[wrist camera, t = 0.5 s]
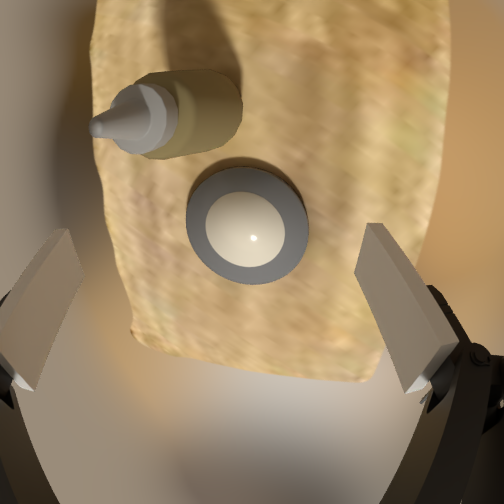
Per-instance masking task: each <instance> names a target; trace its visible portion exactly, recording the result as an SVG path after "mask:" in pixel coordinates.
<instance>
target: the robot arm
mask: <svg viewBox="0 0 504 504" xmlns="http://www.w3.org/2000/svg"><path fill="white" fill-rule="evenodd" d="M354 274H355V276H356V278H357V280H358V282H359V284H360V286H361V289H362V291H363V293H364V295H365V297H366V300H367V302H368V304H369V306H370V309H371V311H372V313H373V315H374V318H375V320H376V322H377V325H378V327H379V329H380V332H381V334H382V337H383V339H384V341H385V344H386V346H387V349H388V351H389V354H390V355H391V359H392V361H393V364H394V366H395V369H396V372H397V374H398V377H399V379H400V382H401V385H402V388H403V390H404V393H405V394H406V393H410V392H414V391H417V390H421V389H423V387H424V386H425V385H426V384H427V383H428V382H429V380H430V382H431V385H432V388H431V390H430V391H429V392H428V393H427V394H426V395H425V396H424V397H423V398H422V400H421V401H420V404H422V403H423V402H424V401H425V400H426V399H427V400H426V402H425V405H424V408H423V411H422V414H421V416H420V419H419V422H418V424H417V427H416V429H415V432H414V434H413V437H412V439H411V442H410V444H409V446H408V448H407V451H406V453H405V455H404V457H403V459H402V461H401V464H400V466H399V468H398V470H397V472H396V474H395V476H394V478H393V480H392V481H391V483H390V485H389V487H388V489H387V491H386V493H385V494H384V496H383V498H382V500H381V501H380V503H379V504H460V503H461V504H504V406H503V407H502V408H501V406H500V401H502V400H504V356H499V355H491V354H490V353H489V351H488V350H487V349H486V348H485V347H484V346H482V345H480V344H477V343H471V341H470V339H469V338H468V336H467V334H466V332H465V331H464V329H463V328H462V326H461V324H460V322H459V321H458V319H457V317H456V316H455V314H454V313H453V311H452V309H451V308H450V306H448V303H447V301H446V300H445V298H444V297H443V295H442V293H440V292H439V291H438V290H437V289H436V288H435V287H434V286H432V285H425V283H424V282H423V280H422V279H421V277H420V276H419V274H418V272H417V271H416V269H415V268H414V266H413V265H412V264H411V262H410V261H409V259H408V258H407V256H406V255H405V253H404V252H403V251H402V249H401V248H400V246H399V245H398V244H397V242H396V241H395V240H394V238H393V237H392V235H391V234H390V233H389V231H388V230H387V229H386V227H385V226H384V225H383V223H367V225H366V230H365V234H364V238H363V242H362V246H361V249H360V253H359V257H358V261H357V264H356V268H355V271H354ZM84 277H85V275H84V273H83V271H82V268H81V265H80V262H79V259H78V256H77V254H76V251H75V248H74V245H73V242H72V239H71V236H70V233H69V229H55V230H54V232H53V233H52V234H51V236H50V237H49V238H48V239H47V240H46V242H45V243H44V244H43V246H42V247H41V248H40V250H39V251H38V252H37V254H36V255H35V256H34V258H33V259H32V261H31V262H30V263H29V265H28V266H27V267H26V269H25V270H24V272H23V273H22V275H21V276H20V278H19V279H18V281H17V282H16V283H15V285H14V287H13V288H12V290H10V291H9V292H8V294H6V295H5V296H4V297H3V298H2V300H1V301H0V504H60V503H59V501H58V500H57V498H56V496H55V494H54V492H53V490H52V488H51V486H50V484H49V482H48V480H47V478H46V476H45V474H44V471H43V469H42V467H41V465H40V462H39V460H38V458H37V455H36V453H35V450H34V448H33V446H32V443H31V440H30V437H29V435H28V432H27V429H26V427H25V423H24V420H23V417H22V414H21V411H20V408H19V404H18V401H17V397H16V394H15V391H14V389H13V387H12V386H11V383H12V380H14V381H15V382H16V383H17V384H18V385H19V386H20V387H21V388H23V389H27V390H31V391H35V389H36V386H37V384H38V381H39V378H40V375H41V373H42V370H43V367H44V365H45V362H46V359H47V357H48V355H49V352H50V350H51V347H52V345H53V342H54V340H55V337H56V335H57V333H58V331H59V328H60V326H61V324H62V322H63V320H64V317H65V315H66V313H67V311H68V309H69V307H70V305H71V303H72V301H73V299H74V296H75V294H76V292H77V290H78V288H79V287H80V285H81V283H82V281H83V279H84ZM461 500H462V502H461Z"/></svg>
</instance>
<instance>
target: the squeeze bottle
mask: <svg viewBox="0 0 504 504" xmlns="http://www.w3.org/2000/svg"><path fill="white" fill-rule="evenodd" d="M242 111H243V102H242V99H241V96H240V94H239V91H238V88H237V87H236V86H235V85H234V83H233V82H232V81H231V80H230V79H229V78H228V77H227V76H226V75H223V74H221V73H218V72H216V71H213V70H182V71H165V72H155V73H149V74H147V75H146V76H144V77H142V78H140V79H139V80H137V81H136V82H135V83H134V84H133V85H129V86H128V87H126V88H124V89H123V90H121V91H120V92H119V93H118V94H117V96H116V97H115V98H114V100H113V101H112V104H111V107H110V109H109V110H107V111H105V112H103V113H101V114H99V115H97V116H95V117H94V118H92V119H91V121H90V123H89V132H90V134H91V135H92V136H93V137H95V138H109V139H113V140H114V142H115V143H116V144H117V145H118V146H119V148H120V149H122V150H124V151H126V152H128V153H130V154H140V155H142V156H144V157H146V158H148V159H160V160H165V159H170V158H175V157H180V156H185V155H190V154H195V153H201V152H206V151H210V150H212V149H215V148H218V147H221V146H223V145H224V144H225V143H226V142H228V141H229V140H230V139H231V138H232V137H233V136H234V135H235V133H236V131H237V129H238V127H239V125H240V123H241V121H242Z"/></svg>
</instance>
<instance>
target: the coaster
mask: <svg viewBox="0 0 504 504" xmlns="http://www.w3.org/2000/svg"><path fill="white" fill-rule="evenodd" d="M186 229H187V234H188V237H189V240H190V243H191V245H192V247H193V249H194V251H195V252H196V254H197V255H198V257H199V258H200V259H201V260H202V262H203V263H204V264H205V265H206V266H207V267H209V268H210V269H211V270H212V271H214V272H215V273H217V274H218V275H220V276H222V277H224V278H226V279H228V280H231V281H234V282H237V283H242V284H250V285H257V284H265V283H270V282H273V281H276V280H278V279H280V278H282V277H284V276H285V275H287V274H288V273H289V272H291V271H292V270H293V269H294V268H295V267H296V266H297V264H298V263H299V262H300V260H301V259H302V257H303V254H304V252H305V250H306V246H307V242H308V235H309V223H308V217H307V214H306V210H305V208H304V205H303V203H302V201H301V200H300V198H299V196H298V195H297V193H296V192H295V191H294V190H293V189H292V188H291V187H290V186H289V185H288V184H287V183H286V182H285V181H284V180H282V179H281V178H279V177H278V176H276V175H274V174H272V173H270V172H268V171H265V170H263V169H259V168H254V167H245V166H243V167H232V168H228V169H225V170H222V171H219V172H217V173H215V174H213V175H212V176H210V177H209V178H208V179H206V180H205V181H204V182H202V183H201V184H200V185H199V186H198V188H197V189H196V190H195V192H194V193H193V195H192V197H191V199H190V201H189V204H188V207H187V212H186Z"/></svg>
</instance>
